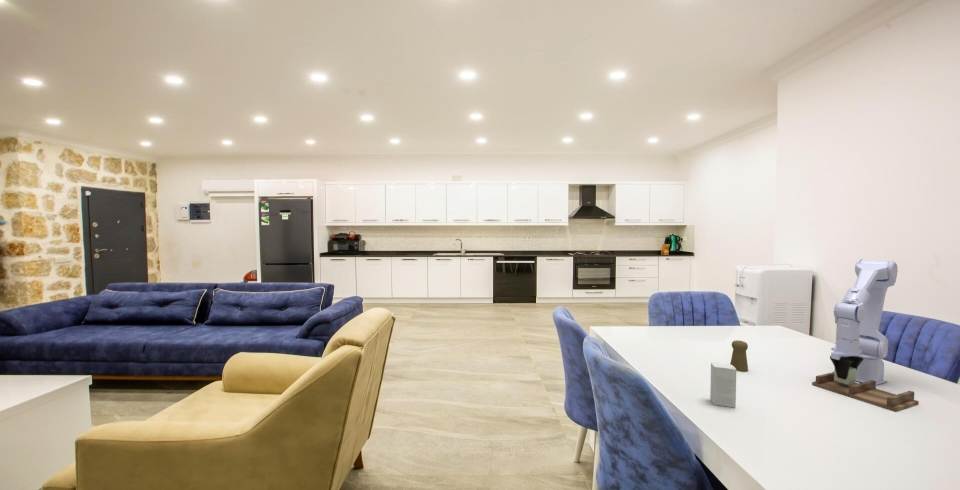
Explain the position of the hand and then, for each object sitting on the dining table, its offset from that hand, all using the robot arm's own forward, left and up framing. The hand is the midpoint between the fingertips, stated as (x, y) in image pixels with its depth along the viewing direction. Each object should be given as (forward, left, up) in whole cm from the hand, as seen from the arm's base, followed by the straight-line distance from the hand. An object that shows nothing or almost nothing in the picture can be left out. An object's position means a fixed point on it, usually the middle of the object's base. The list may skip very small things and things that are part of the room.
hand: (845, 377), depth 129 cm
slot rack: (0, +5, -4) cm, 6 cm away
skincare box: (+51, -7, -4) cm, 52 cm away
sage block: (0, 0, -2) cm, 2 cm away
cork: (+16, -25, -4) cm, 30 cm away
